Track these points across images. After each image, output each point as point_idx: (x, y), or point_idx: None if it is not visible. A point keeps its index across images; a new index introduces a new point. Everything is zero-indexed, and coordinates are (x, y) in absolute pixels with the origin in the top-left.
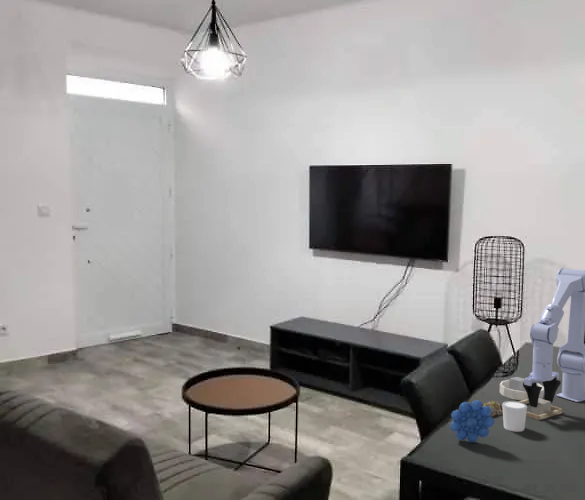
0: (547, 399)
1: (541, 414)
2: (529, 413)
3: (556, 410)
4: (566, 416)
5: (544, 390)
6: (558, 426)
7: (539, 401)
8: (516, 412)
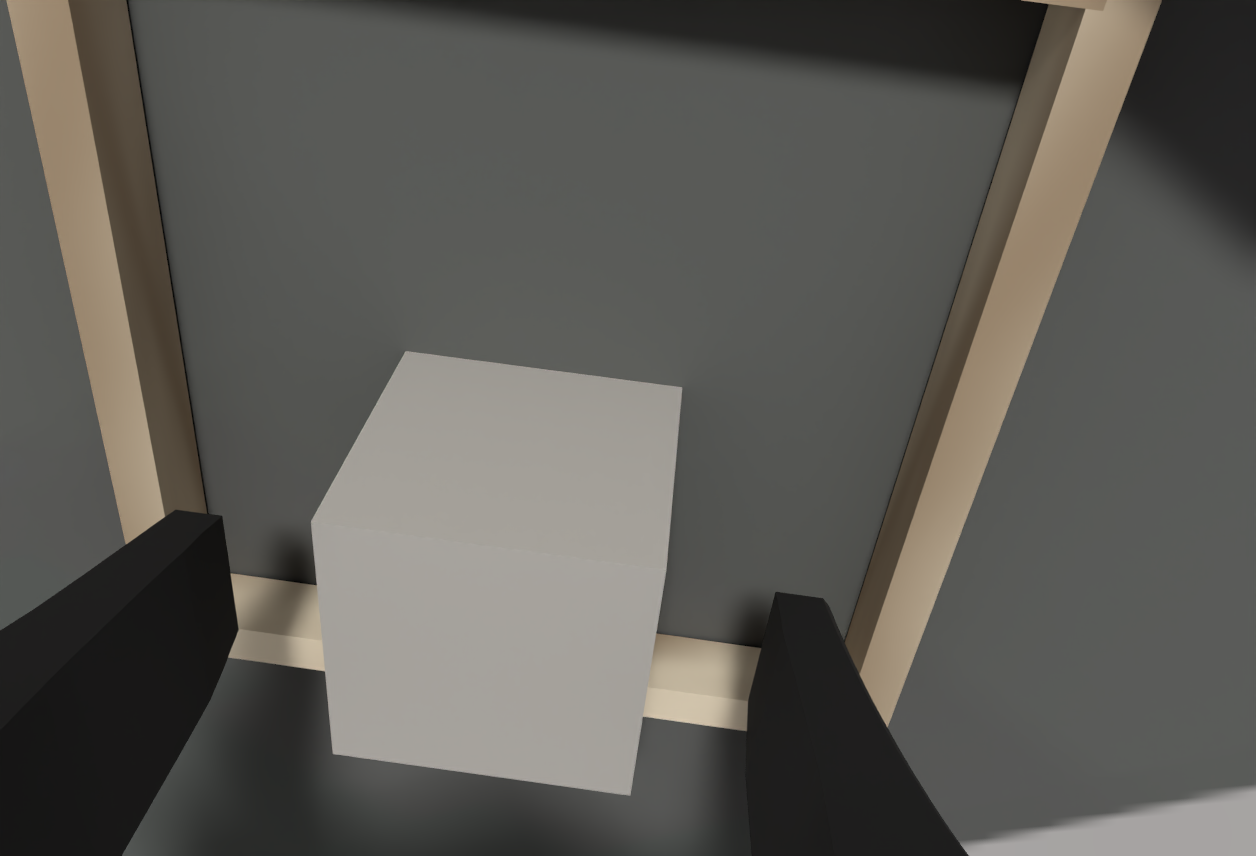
0: (762, 688)
1: (270, 639)
2: (117, 483)
3: (706, 711)
4: (739, 766)
5: (824, 795)
6: (254, 815)
7: (413, 659)
8: None
